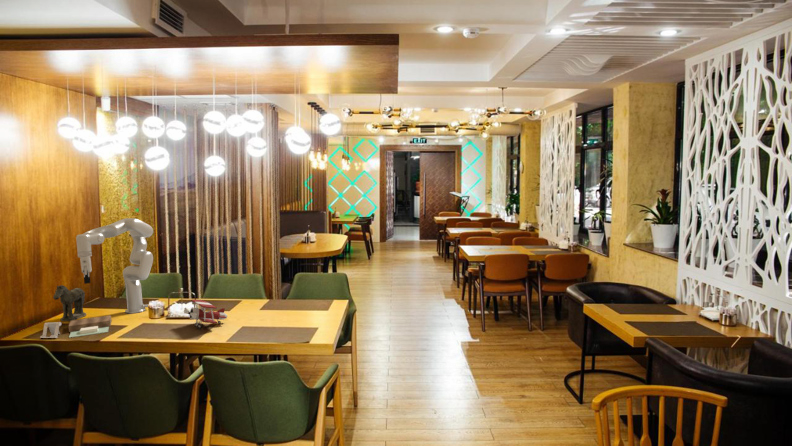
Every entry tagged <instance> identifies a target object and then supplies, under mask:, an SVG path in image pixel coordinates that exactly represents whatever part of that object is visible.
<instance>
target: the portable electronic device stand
mask: <svg viewBox="0 0 792 446" xmlns="http://www.w3.org/2000/svg"><path fill="white" fill-rule="evenodd" d="M61 326H62V321H57V322H55V321H54V322H45V323H44V324H43V330H42V335H40V337H39V338H57V339H58V338H59V337H58V336H59V335H58V334H60V335H61V333H60V330H59V329H60V327H61ZM48 329H49V332H50V334H51V335H50V336H47V332H48Z"/></svg>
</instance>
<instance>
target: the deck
mask: <svg viewBox="0 0 792 446" xmlns="http://www.w3.org/2000/svg"><path fill="white" fill-rule="evenodd" d="M94 326H98V328H102V327H109V328H111V327H112V315H103V316H98V317H97V316H95V317H88V318H79V319H76V320H72V321H69V323H68V332H70V333H71V332H74V331H80V329H81V328H87V327H94Z"/></svg>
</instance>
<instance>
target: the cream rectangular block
mask: <svg viewBox="0 0 792 446" xmlns="http://www.w3.org/2000/svg"><path fill="white" fill-rule="evenodd" d="M92 332H98V326H94V327H87V328H81V329H80V334H85V333H92Z"/></svg>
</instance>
